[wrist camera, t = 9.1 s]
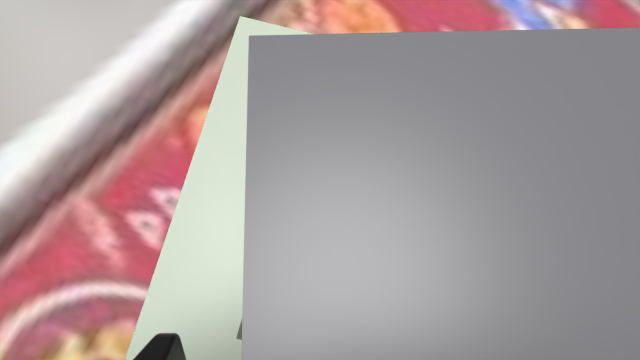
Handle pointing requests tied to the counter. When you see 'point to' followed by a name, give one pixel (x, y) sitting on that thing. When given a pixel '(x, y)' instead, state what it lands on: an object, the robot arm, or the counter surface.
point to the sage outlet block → (208, 226)
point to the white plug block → (443, 196)
